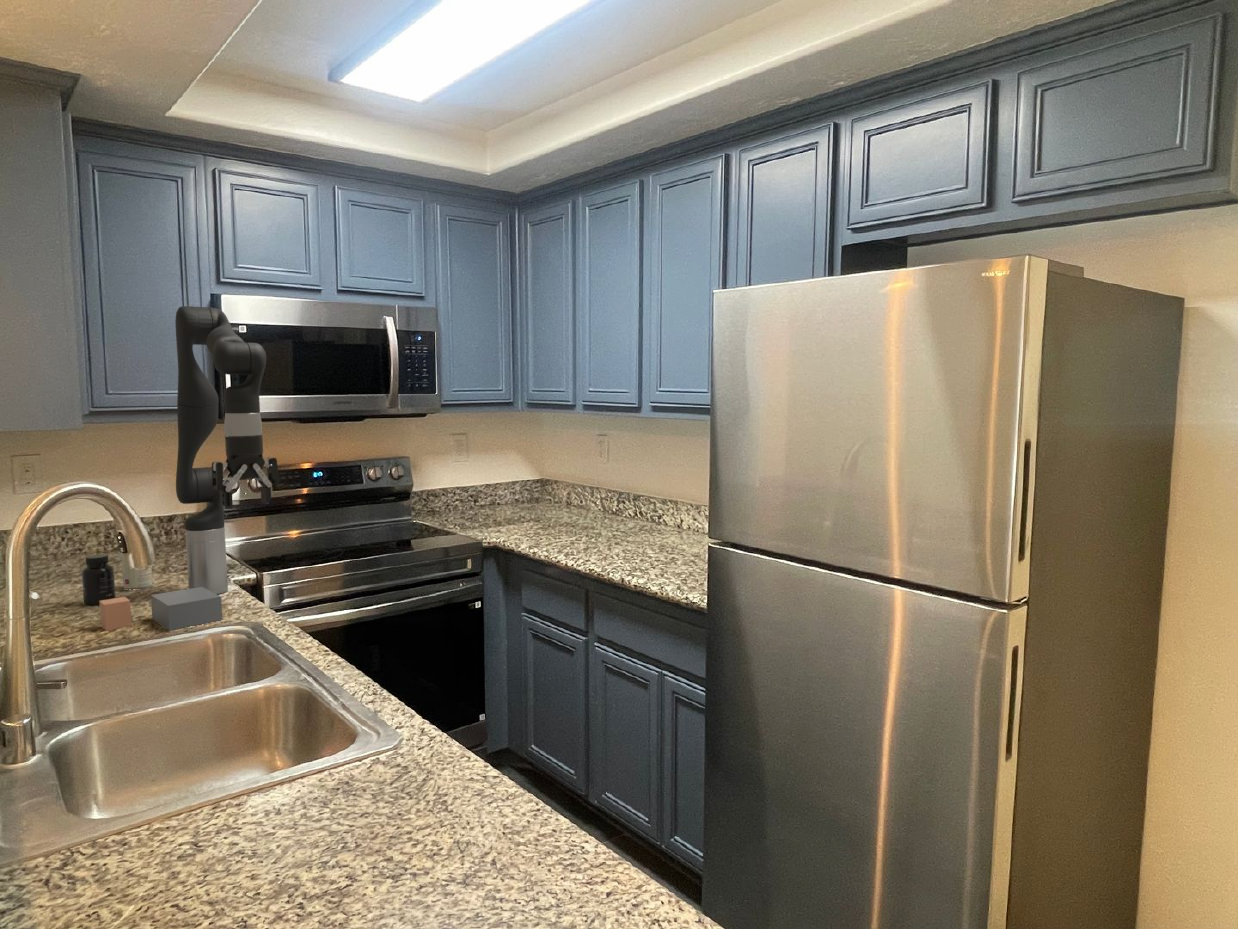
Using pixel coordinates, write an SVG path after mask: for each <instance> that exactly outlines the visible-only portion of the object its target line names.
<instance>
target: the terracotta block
mask: <svg viewBox="0 0 1238 929" xmlns="http://www.w3.org/2000/svg"><path fill="white" fill-rule="evenodd" d="M99 603H100V605H99V616H100V625H101V626H102V627H103V628H104V629H105V630H104V629H103V628H102V627H101V626H100V627H101V628H102V629H103V630H104V631H106V632H109V631H112V630H113V631H114V629H115V630H120V629H124V628H123V627H126V628H130V627H129V626H131V627H133V623H132V610H131V609H132V608H131V600H130V599H128V598H127V597H126V596H123V597H122V596H120V597H115V598H114V599H108V600H101V601H99ZM119 628H120V629H119Z"/></svg>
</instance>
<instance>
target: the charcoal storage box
mask: <svg viewBox="0 0 1238 929" xmlns="http://www.w3.org/2000/svg"><path fill="white" fill-rule="evenodd" d="M222 603H223V602H222V596H221V595H219V594H215V593H213V592H211V591H209V590H207V589H205V588H203V587H198V588H191V589H189V588H187V589H185V588H184V589H180V590H175V591H168V592H162V593H155V594H150V604H151V605H150V606H151V618H152V620H153V619H154V620H155V621H154V620H153V621H154V622H155V623H157V622H158V624H159V625H160V626H162V627H163V626H164V627H163V628H165V629H166V630H167V631H169V632H171V631H178V630H182V628H183V629H186V628H185V627H189V628H191V627H190V626H194V627H198V626H197V625H199V626H203V625H202V624H204V625H207V624H206V623H209V624H212V623H211V622H215V623H217V622H216V621H220V622H222V621H221V620H223V609H222V608H223V607H222V606H223V604H222Z"/></svg>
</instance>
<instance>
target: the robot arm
mask: <svg viewBox="0 0 1238 929" xmlns="http://www.w3.org/2000/svg"><path fill="white" fill-rule="evenodd" d="M175 313H176V314H175V322H174V323H175V324H174V325H175V326H174V327H175V339H176V340H175V341H176V352H177V353H176V354H177V398H176V400H177V402H176V403H177V409H176V411H177V413H176V414H177V415H176V416H177V437H178V438H177V440H178V444H177V445H178V446H177V447H178V448H177V459H176V460H177V461H176V473H175V474H176V475H175V477H176V478H175V493H176V494H175V495H176V498H177V500H178V501H179V503H181V504H183V505H184V504H185V505H186V504H187V505H188V504H189V505H190V504H191V505H193V504H202V503H204V504H205V503H208V504H207V506H206V507H205V508H204V509H203V510H202V511H200V512H198V513H196V514H193V515H191V516H188V517H187V518H186V519H185V521H184V532H185V546H186V549H185V550H186V561H187V562H186V563H187V564H186V565H187V581H188V589H191V588H198V587H203V588H205V589H207V590H209V591H211V592H213V593H215V594H217V595H219V594H223V593H226V592H228V591H229V582H228V564H227V563H228V562H227V549H226V548H227V546H226V533H225V509H226V510H232V509H233V508H234V503H233V492H232V490H233V487H235V485H236V484H237V483H238V482H239V480H240V481H245V480H255V481H257V482H258V484H260V486H261V487H260V502H261V504H262V505H269V504H270V502H271V501H272V491H271V490H272V486H274V485H277V484H278V483H280V479H279V478H280V477H279V476H280V475H279V469H278V460H277V458H276V457H270V456H269V457H266V458H264V456H263V454H264V443H263V441H264V440H263V422H262V418H261V407H260V405H261V404H260V403H261V402H260V392H261V384H262V381H263V380H262V379H263V377H264V372H265V369H266V366H267V365H266V364H267V353H266V351H265V349H264V347H263V346H262V345H260V343H257V342H245V341H244V340H243V339H242V337H240V336H239V335H238V334H237V333H235V331H234V330H233V326H232V325H231V323H230V320H229V318H228V317H227V315H226V314H225V313H224V311H223V310H221V309H219V308H217V307H209V306H207V307H206V306H191V305H189V306H188V305H185V306H184V305H183V306H179V308H177V310H176V312H175ZM195 345H198V346H206V347H207V349H208V351H209V352H210V354H211V356H212V359H213V360H212V361H213V362H212V363H213V366H214V369H215V370H216V371H217V372H218V373H221V374H223V375H228V376H230V375H235V376H236V375H237V376H238V375H240V376H241V375H242V376H243V375H245V376H247V377H246V380H245V381H244V382H243V383H241V384H236V385H230V386H228V387H225V389H224V391H223V392H224V393H223V400H224V401H223V403H224V404H223V405H224V422H223V424H224V441H225V442H224V444H225V445H224V446H225V455H226V460H225V462H223V461H222V462H220V461H213V462H212V463H211V466H207V467H193V466H194V462H195V459H196V457H197V454H198V453H199V450H200V449H201V447H202V445H204V443H205V442H206V440H207V439H208V438H209V436H210V435H211V434H212V433H213V431H214V429H215V428H216V426H217V424H218V421H219V395H218V392H217V390H216V389H215V388H214V385H213V384H212V383H211V382H210V380H209V379H208V378H207V376H206V375H205V373H204V372H203V370H202V369H201V368H200V365H199V364H198V362H197V360H196V357H195V353H194V349H193V348H194V347H193V346H195ZM263 467H265V468H266V473H267V475H266V473H265V472H264V471H263V470H262V469H263ZM225 470H227V471H228V473H227V474H226V475H225V477H224V471H225Z"/></svg>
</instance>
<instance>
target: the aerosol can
mask: <svg viewBox="0 0 1238 929" xmlns="http://www.w3.org/2000/svg"><path fill="white" fill-rule="evenodd" d="M145 525H146V527H147V528H148V531H149V532H150V528H149V525H148V524H145ZM120 555H121V570H122V584H123V590H124V589H128V590H129V589H131V590H133V589H145V590H147V589H146V588H149V587H151V586H152V585H153V568H152V566H151V567H150V568H148V569H147V570H132V569H130V568H129V566H128V564H127V561H126V558H125V556H124V555H123V553H122V552H121V551H120ZM149 589H150V588H149Z"/></svg>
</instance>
